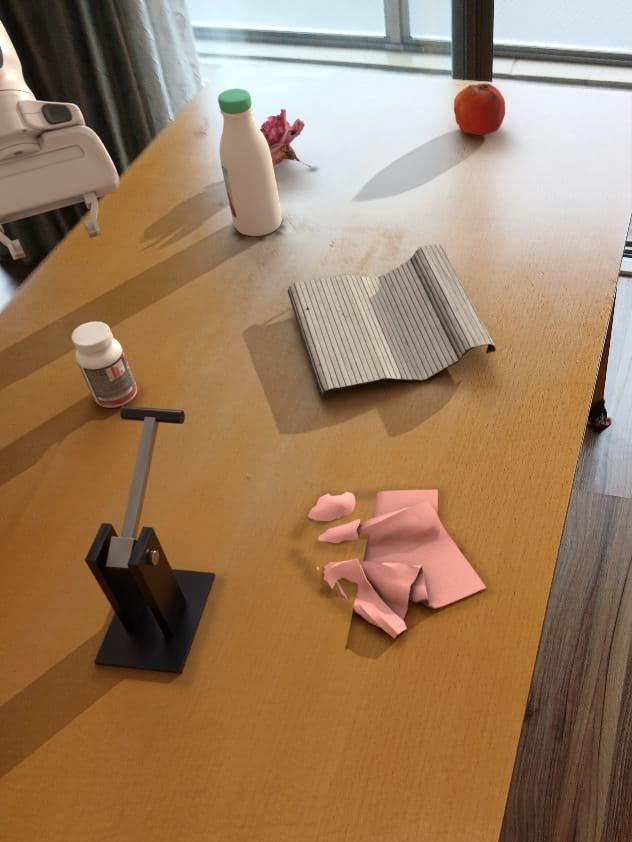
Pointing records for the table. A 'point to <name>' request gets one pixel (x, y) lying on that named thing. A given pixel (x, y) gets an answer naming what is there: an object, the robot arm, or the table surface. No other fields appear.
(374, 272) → the table surface
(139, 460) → the lever
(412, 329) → the mat
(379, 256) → the table surface
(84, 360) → the pill bottle
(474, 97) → the red round fruit
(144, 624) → the bracket
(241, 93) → the milk bottle
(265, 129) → the flower
